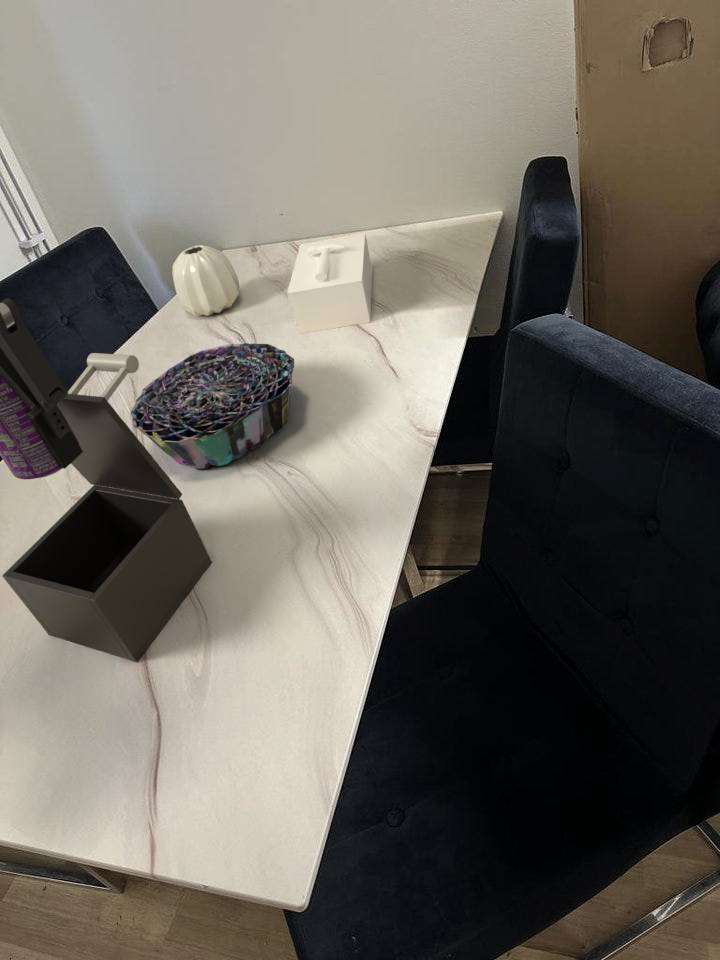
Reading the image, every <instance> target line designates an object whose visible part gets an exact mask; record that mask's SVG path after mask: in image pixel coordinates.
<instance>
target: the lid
mask: <svg viewBox="0 0 720 960" xmlns="http://www.w3.org/2000/svg"><path fill="white" fill-rule="evenodd" d="M86 364H87V367H86V368H85V369H84V370H83V372H82V373H81V374H80V376H79V377H78V378H77V379H76V381H75V382H74V383H73V385H72V386H71V387H70V388H69V389H68V390H67V391H68V395H67V396H65V397H64V398H63V399H62V400H61V401H59V402H58V403H57V405H58V407H59V408H60V410H61V412H62V414H63V415H64V417H65V419H66V421H67V422H68V424H69V426H70V427H71V429H72V431H73V433H74V434H75V436H76V438H77V440H78V441H79V444H80V448H81V449H82V451H83V453H81V454H80V455H79V456H78V457H77V458H76V459H75V460H74V461H73V462H72V463H71V464H70V465H72V467H74V469H76V471H78V473H79V474H80V475H81V476H82V477H83V478H84V479H85V480H86V481H87V482H88V483H89V484H90V485H92V486H94V485H98V486H103V487H109V488H115V489H121V490H127V491H133V492H139V493H145V494H150V495H156V496H162V497H168V498H174V499H180V500H181V497H182V496H183V493H182V492H181V490H179V488H178V487H177V485H175V483H174V482H173V481H172V479H171V478H170V477H169V476H168V474H167V473H166V472H165V471H164V469H163V468H162V467H161V466H160V465H159V462H157V461H156V459H155V458H154V457H153V455H152V454H150V453H151V452H149V451H148V449H147V448H146V447H145V446H144V444H143V443H142V442H141V441H140V439H138V437H137V436H136V434H135V433H134V432H133V431H132V430H131V428H130V427H129V426H128V425H127V424H126V422H125V421H124V420H123V419H122V417H121V416H120V415H119V413H118V412H117V411H116V410H115V409H114V407H113V406H112V405H111V404H110V402H109V400H110V398H111V397H112V395H114V393H115V392H116V390H117V389H118V388H119V386H120V385H121V383H122V382H123V380H125V378H126V377H127V375H128V374H135V373H137V371H138V370H139V367H140V361H139V359H138V357H137V356H136V355H133V354H119V353H118V354H117V353H101V352H99V353H98V352H92V353H89V355H88V356H87V358H86ZM97 371H98V372H109V373H116V374H115V375H114V377H113V378H112V380H110V381H109V383H108V385H107V386H106V387H105V388H104V390H103V392H101V394H100V395H99V396H98V395H97V396H96V395H85V394H79V393H80V392H81V390H82V389H83V388H84V386H85V385H86V384H87V382H88V381H89V380H90V378H91V377H92V376H93V375H94V373H95V372H97Z"/></svg>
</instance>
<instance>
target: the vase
mask: <svg viewBox="0 0 720 960" xmlns="http://www.w3.org/2000/svg"><path fill="white" fill-rule="evenodd" d="M171 268H172V269H171V274H172V281H173V285H174V289H175V292H176V297H177V300H178V302H179V304H180V306H181V308H182V310H185V311H186V312H188V313H190V314H192V315H194V316H197V317H198V316H207V317H209V316H212V315H213V314H219V313H221V312H222V311H223V310H226V309H230V308H231V307H232V306H233V304H234V303H235V302H236V301H237V298H238V295H239V292H240V281H239V278H238V275H237V272H236V271H235V268H234V267H233V265H232V263H231V261H230V260H229V258H228V257H227V255H225V253H224V252H223V251H220V250H218V249H216V248H214V247H211V246H209V245H203V244H198V245H193V246H191V247H187V248H186V249H184V250H183V251H181V252H180V253H179V255H178V256H177V257H176V259H175V260H174V262H173V263H172V267H171Z"/></svg>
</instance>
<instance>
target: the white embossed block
mask: <svg viewBox="0 0 720 960" xmlns="http://www.w3.org/2000/svg"><path fill="white" fill-rule="evenodd" d="M372 287H373V266H372V261H371V256H370V251H369V244H368V240H367V235H366V232H362V233H361V232H360V233H355V234H350V235H349V234H348V235H345V236H344V235H343V236H339V237H333V238H329V239H323V240H317V241H312V242H306V243H301V244H299V248H298V251H297V255H296V258H295V263H294V266H293V270H292V274H291V278H290V281H289V285H288V288H287V291H286V295H287V298H288V302H289V305H290V309H291V312H292V316H293V320H294V323H295V327H296V331H297V334H298V335H301V334H307V333H313V332H319V331H325V330H333V329H339V328H344V327H351V326H357V325H363V324H368V323H371V315H372V314H371V311H372V292H373V291H372V289H373V288H372Z"/></svg>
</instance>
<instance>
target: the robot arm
mask: <svg viewBox="0 0 720 960" xmlns="http://www.w3.org/2000/svg"><path fill="white" fill-rule="evenodd" d="M0 376H1V377H2V378H3V380H4V381H5V382H6V383H7V384H8V385H9V386H10V387H11V389H12V390H13V391H14V392H15V393H16V394H17V395H18V396H19V397H20V399H21V400H22V401H23V402H24V403H25V404H26V405H27V406H28V408H29V409H30V410H31V411H30V412H29V413H27V414H26V416H27V417H28V418H29V419H30V421H31V422H32V424H33V425H34V427H35V429H36V430H37V432H38V434H39V435H40V437H41V438H42V440H43V442H44V443H45V445H46V446H47V448H48V450H49V451H50V453H51V455H52V456H53V458H54V459H55V461H56V463H57V464H58V466H59V468H62V469H64V470H65V469H66V468H68V467H69V466H70V465H72V464H71V463H72V462H73V461H74V460H75V459H76V458H77V457H78V456H79V455H80V454H81V453H83V451H82V449H81V448H80V446H79V444H78V442H77V441H76V439H75V437H74V435H73V434H72V432H71V430H70V427H69V425H68V423H67V422H66V419H65V418H64V416H63V414H62V412H61V411H60V409H59V407H58V405H57V403H58V402H59V401H61V400H62V399H63V398H64V397H65V396H67V395H68V391H69V390H68V389H67V388H66V387H65V385H64V383H63V382H62V380H61V378H59V375H58V374H57V373H56V371H55V369H54V368H53V366H52V365H51V364H50V362H49V361H48V359H47V357H46V356H45V354H44V352H43V351H42V349H41V348H40V346H39V345H38V343H37V342H36V340H35V339H34V337H33V336H32V334H31V333H30V331H29V330H28V328H27V327H26V325H25V323H24V321H23V319H22V316H21V314H20V311H19V309H18V306H17V304H16V303H15V301H14V300H13V299H11V298H5V299H3V300H2V301H1V302H0ZM35 398H36V399H35Z"/></svg>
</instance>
